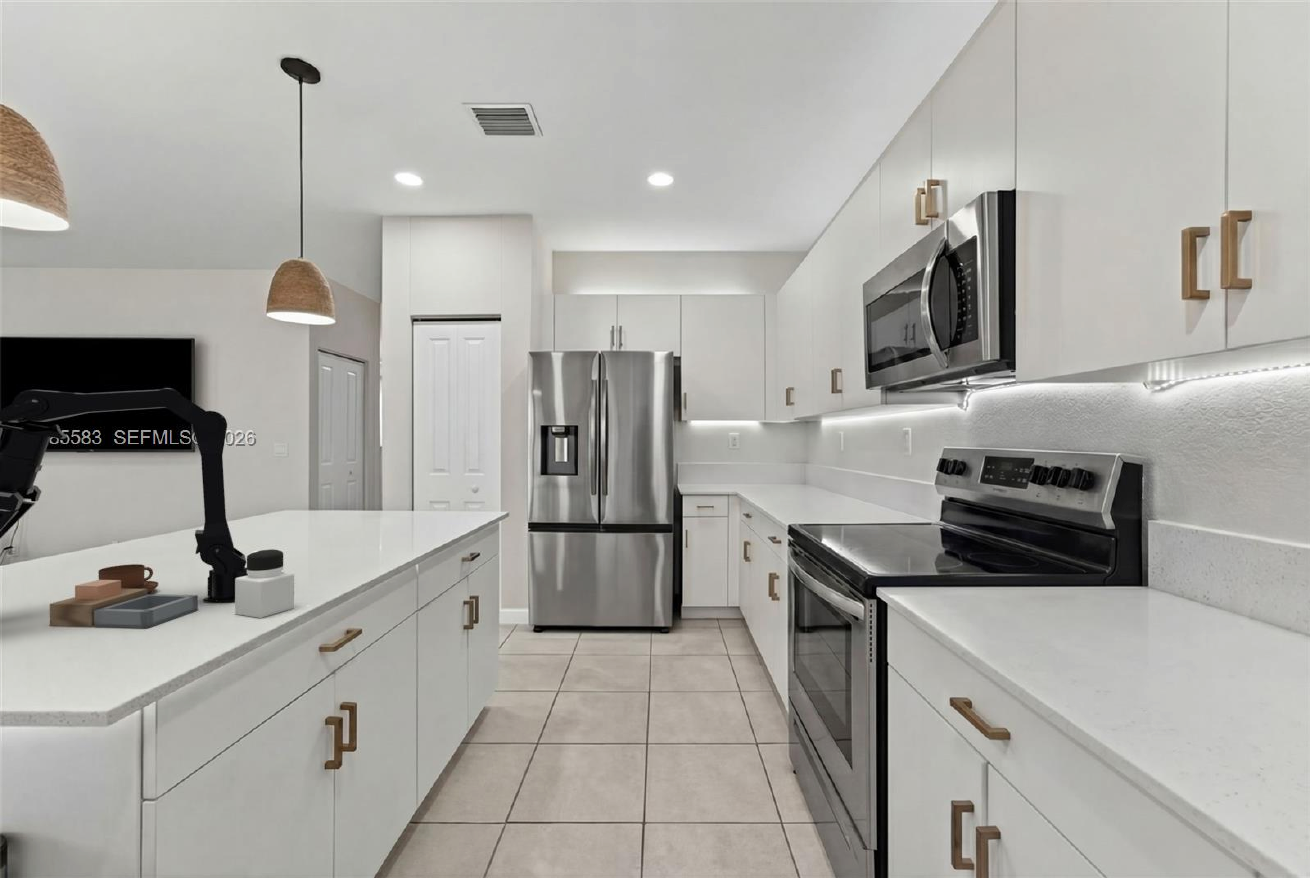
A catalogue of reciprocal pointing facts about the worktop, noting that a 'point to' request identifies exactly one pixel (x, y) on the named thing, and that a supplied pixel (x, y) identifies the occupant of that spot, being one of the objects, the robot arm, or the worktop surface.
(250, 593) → the medicine bottle
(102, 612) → the box
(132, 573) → the cup and saucer
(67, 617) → the tan wooden board
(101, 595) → the tile
